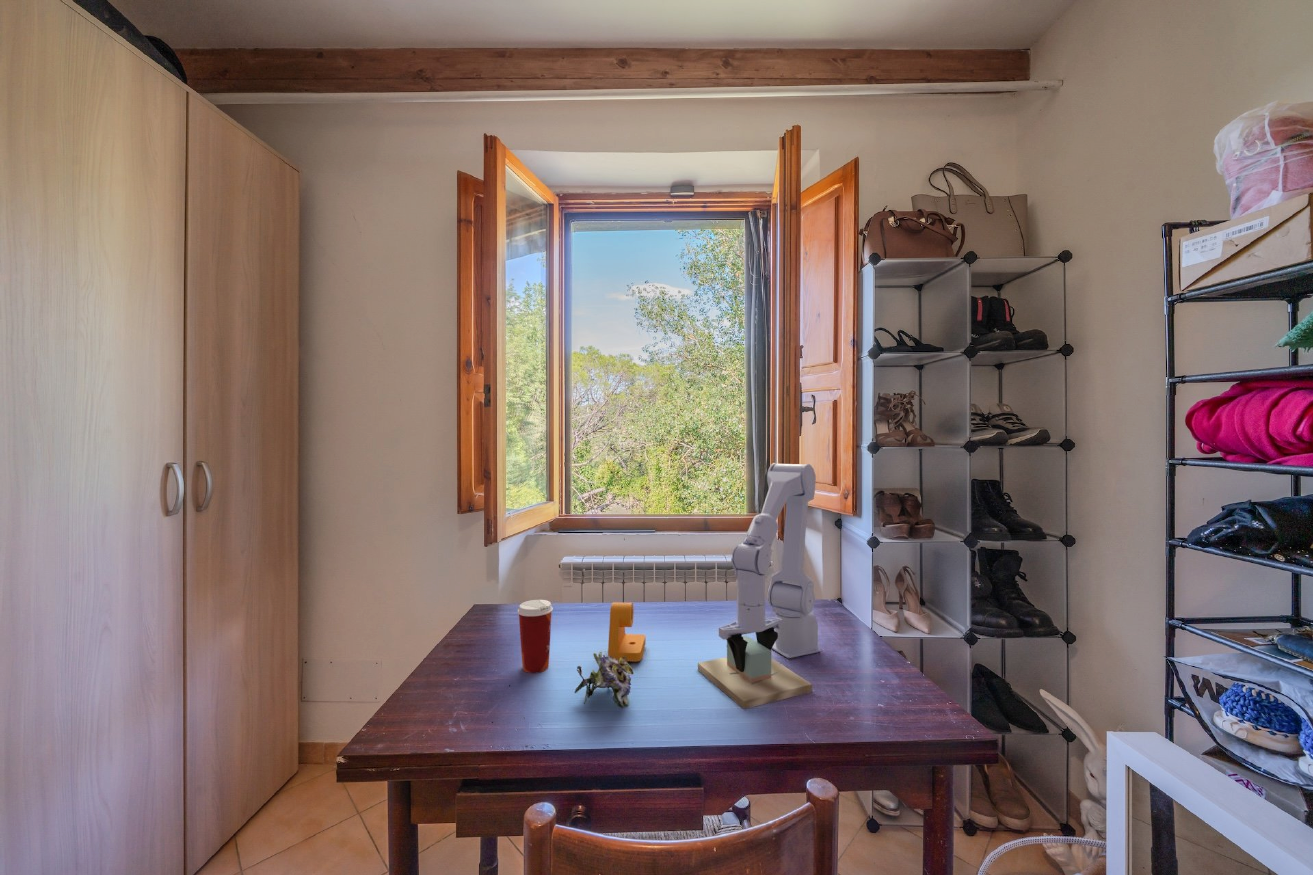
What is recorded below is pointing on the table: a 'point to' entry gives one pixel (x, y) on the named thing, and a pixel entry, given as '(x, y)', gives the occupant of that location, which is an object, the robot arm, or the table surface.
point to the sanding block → (753, 661)
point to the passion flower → (609, 678)
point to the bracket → (618, 640)
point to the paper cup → (535, 634)
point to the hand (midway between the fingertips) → (751, 667)
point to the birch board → (754, 683)
